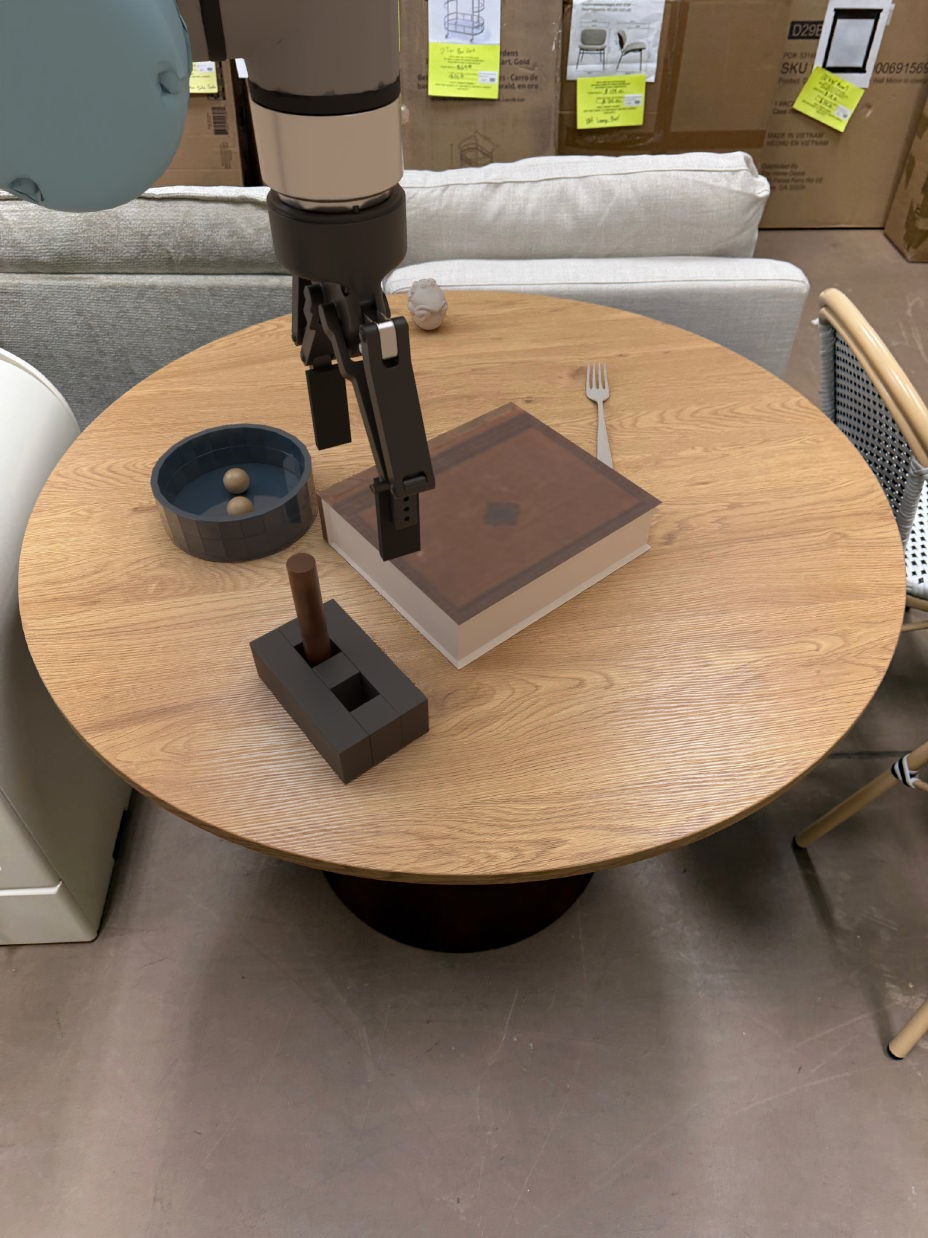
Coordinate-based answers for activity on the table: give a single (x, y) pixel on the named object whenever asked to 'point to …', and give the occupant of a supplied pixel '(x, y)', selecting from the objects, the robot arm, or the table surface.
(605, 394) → the fork
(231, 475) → the bead
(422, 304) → the grey lumpy oval lump
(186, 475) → the bowl
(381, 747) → the holder
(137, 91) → the robot arm
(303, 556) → the stirring stick
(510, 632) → the book
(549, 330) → the table surface
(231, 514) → the bead
